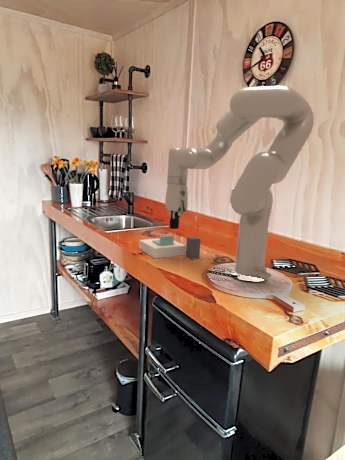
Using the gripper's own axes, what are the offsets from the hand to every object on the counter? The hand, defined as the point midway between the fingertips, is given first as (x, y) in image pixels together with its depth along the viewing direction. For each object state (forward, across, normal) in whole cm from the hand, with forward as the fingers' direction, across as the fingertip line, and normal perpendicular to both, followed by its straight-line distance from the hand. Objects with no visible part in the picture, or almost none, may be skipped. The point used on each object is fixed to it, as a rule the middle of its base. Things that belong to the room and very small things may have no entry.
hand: (173, 228), depth 126 cm
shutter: (+8, +9, 0) cm, 12 cm away
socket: (+12, +9, 0) cm, 15 cm away
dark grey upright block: (+12, -2, -8) cm, 15 cm away
